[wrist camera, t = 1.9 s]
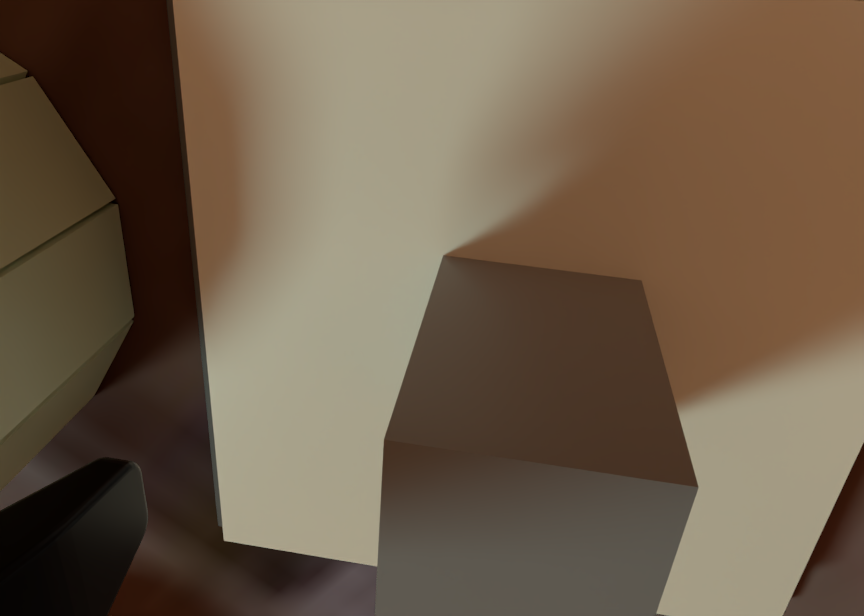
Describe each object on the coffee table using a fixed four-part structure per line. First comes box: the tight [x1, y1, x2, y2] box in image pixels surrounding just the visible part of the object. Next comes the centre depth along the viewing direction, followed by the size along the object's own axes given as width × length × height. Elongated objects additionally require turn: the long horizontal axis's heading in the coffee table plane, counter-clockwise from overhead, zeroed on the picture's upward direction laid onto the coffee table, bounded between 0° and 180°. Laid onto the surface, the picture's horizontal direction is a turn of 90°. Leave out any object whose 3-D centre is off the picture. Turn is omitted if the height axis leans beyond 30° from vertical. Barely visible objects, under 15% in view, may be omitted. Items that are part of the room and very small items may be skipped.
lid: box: [173, 0, 864, 616], centre depth 10 cm, size 11×11×5 cm
